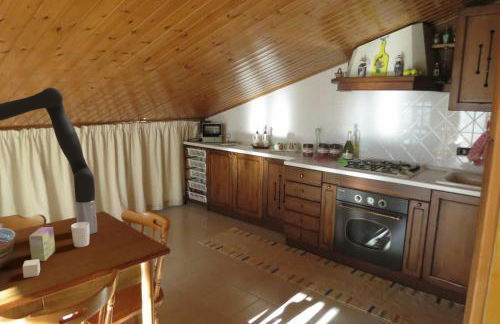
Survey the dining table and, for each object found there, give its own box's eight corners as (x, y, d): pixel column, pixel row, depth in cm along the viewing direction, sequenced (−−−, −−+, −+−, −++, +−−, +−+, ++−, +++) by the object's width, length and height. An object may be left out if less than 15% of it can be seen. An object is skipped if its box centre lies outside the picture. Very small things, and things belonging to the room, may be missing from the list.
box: (42, 251, 166) (40, 226, 163) (55, 251, 166) (53, 226, 164) (31, 261, 156) (28, 236, 153) (44, 261, 156) (42, 235, 154)
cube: (40, 270, 149) (39, 258, 148) (38, 275, 144) (37, 264, 143) (26, 272, 147) (25, 260, 146) (23, 278, 142) (22, 266, 142)
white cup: (94, 242, 176) (92, 223, 174) (81, 249, 169) (80, 228, 167) (81, 240, 179) (80, 221, 177) (68, 246, 171) (67, 226, 169)
